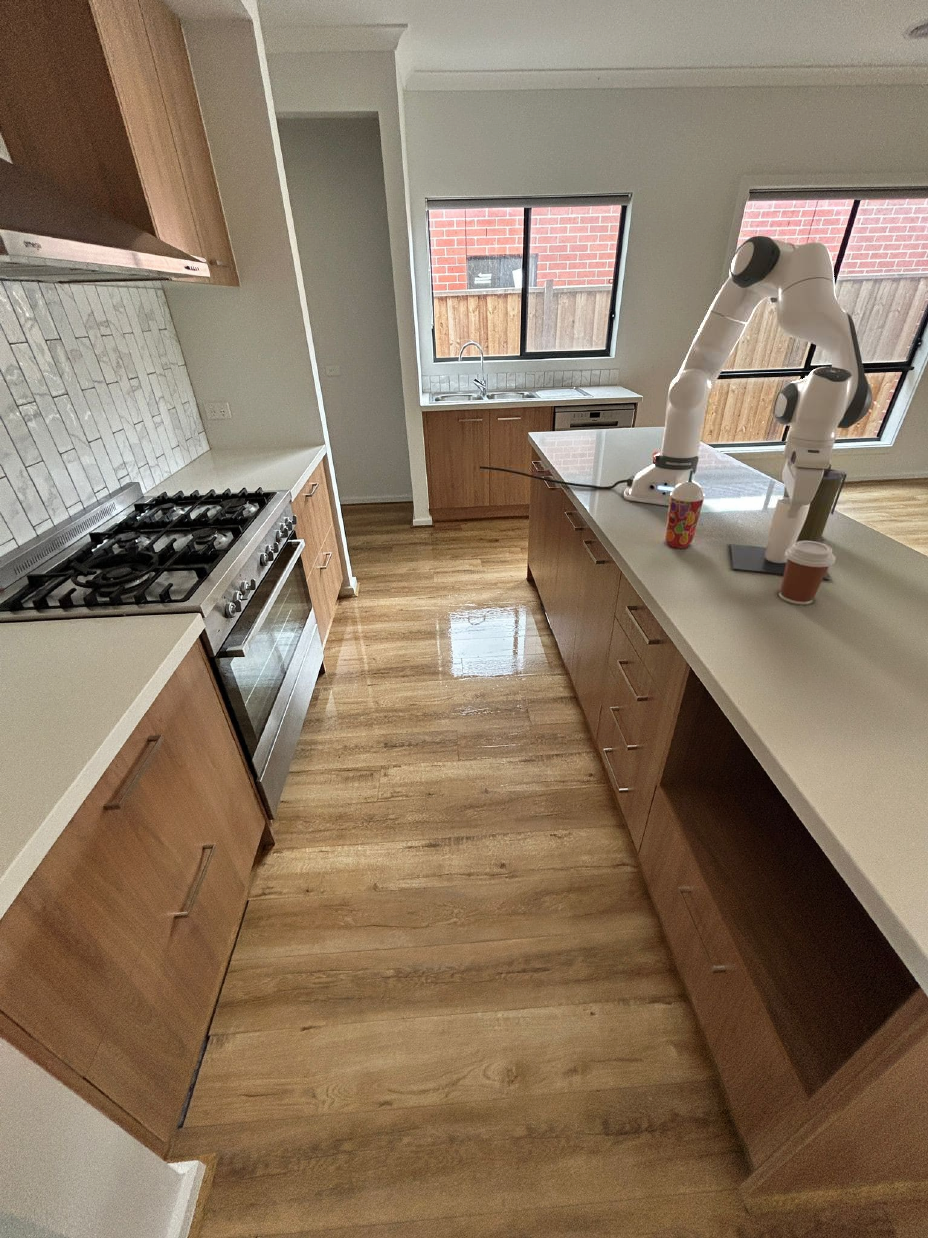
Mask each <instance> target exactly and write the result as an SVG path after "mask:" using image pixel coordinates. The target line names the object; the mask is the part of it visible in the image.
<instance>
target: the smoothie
mask: <svg viewBox="0 0 928 1238" xmlns="http://www.w3.org/2000/svg"><path fill="white" fill-rule="evenodd" d="M692 474H693V470H690V476H689V481H684V482H681V483H679V484H678V485H677V486H676V487H675V488H674V489H673V491H672V492H671V493H670V500H669V506H668V510H667V511H668V512H667V519H666V527H665V528H666V529H665V537H664V538H665V540H666V544H667V545H668V546H670V547H672V548H676V549H682V548H683V549H685V548H687V547H689V546H690V544H691V543H692V542H693V540H694V537H695V533H696V528H697V525H698V522H699V518H700V515H701V511H702V508H703V503H704V501H705V498H706V496H705V493H704V491H703V488H702V486H701V485H700V484H699V483H698V482H696V481H695V480H694V481H691V480H692Z"/></svg>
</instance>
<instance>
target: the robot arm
mask: <svg viewBox="0 0 928 1238" xmlns="http://www.w3.org/2000/svg"><path fill="white" fill-rule="evenodd" d="M831 256H832V255H831V253H830V250H829V249H828V247H827V246H826V245H825V244H823V243H820V242H808V243H804V244H802V245H800V246H798V245H796V244H794V243H793V242H785V241H782V240H777V239H773V238H771V237H769V236H766V235H765V236H764V235H755V236H751V237H749V238H748V239H746V240H745V241H744V242H743V243H742V244H741V245H740V246H739V247H738V249H736V250H735V253H734V255H733V257H732V259H731V261H730V266H729V276H728V278H727V279H726V280H725V282H724V283H723V285H722V287H721V288H720V290H719V291H718V293H717V294H716V296H715V298H714V300H713V301H712V303H711V305H710V306H709V309H708V310H707V312H706V313H707V314H706V315H705V317H704V319H703V321H702V323H701V325H700V327H699V329H698V331H697V333H696V335H695V337H694V339H693V341H692V344H691V345H690V348H689V350H688V353H687V354H686V357H685V359H684V361H683V363H682V365H681V367H680V369H679V371H678V373H677V375H676V376H675V378H673V379H672V381H671V383H670V385H669V387H668V392H667V399H666V400H667V401H666V409H665V421H664V430H663V436H662V437H663V438H662V444H661V451H658V450H654V451H653V453H652V464H650V465H648V466H647V467H646V468H644V469H642V470H640V471H639V472H637V474H636V475H631V476H629V477H628V478H627V479H621V480H618V481H616V482H615V483H613V484H612V485H609V486H599V485H593V484H584V483H583V484H582V483H575V482H569V481H563V480H558V479H552V478H547V477H542V476H538V475H535V474H531V473H526V472H522V471H517V470H513V469H512V470H511V469H508V468H501V467H494V466H482V465H479V467H478V468H479V469H482V470H490V471H491V470H492V471H499V472H506V473H511V474H515V475H516V474H517V475H519V476H525V477H529V478H532V479H535V480H536V479H537V480H540V481H545V482H550V483H555V484H561V485H566V486H572V487H580V488H589V489H590V488H591V489H596V490H611V489H614V488H616V487H617V486H618V485H620V484H625V483H626V487H625V489H624V491H623V498H624V499H625V500H626V501H632V502H638V503H646V504H652V505H659V506H660V505H661V506H668V507H669V500H670V493H671V492H672V491H673V489H674V488H675V487H676V486H677V485H678V484H679V483H681V482H684V481H689V476H690V470H693V474H692V480H691V481H694V482H695V475H696V473H697V470H698V467H699V461H700V454H699V451H700V446H701V439H702V435H703V431H704V423H705V417H706V412H707V405H708V400H709V395H710V393H711V391H712V389H713V387H714V385H715V383H716V382H717V380H718V378H719V376H720V374H721V373H722V371H723V369H724V368H725V366H726V364H727V362H728V360H729V358H730V357H731V355H732V354H733V352H734V349H735V348H736V346H737V344H738V343H739V340H740V339H741V337H742V335H743V333H744V331H745V330H746V327H747V325H748V324H749V322H750V320H751V318H752V317H753V314H754V312H755V310H756V309H757V307H758V306H759V305H760V303H761V302H762V301H764V300H766V299H769V300H770V302H771V303H776V319H777V320H776V321H777V323H778V327H779V328H780V330H781V331H782V332H783V333H785V334H786V335H788V336H789V337H790V338H792V339H795V340H800V341H803V342H807V343H810V344H813V345H815V346H817V347H819V348H821V349H823V350H824V351H825V352H826V353H827V354H828V356H829V359H830V363H831V366H821V367H817V368H815V369H813V370H812V371H810V373H809V374H808V376H806V377H805V378H803V379H802V378H801V379H800V380H795V381H791V382H789V383H787V384H786V385H785V386H783V387H782V388H781V389H780V390H779V391H778V392H777V395H776V397H775V401H774V405H773V409H772V415H773V417H774V418H775V420H776V421H777V422H778V423H779V424H780V425H783V426H788V427H791V430H790V431H789V433H788V435H787V440H786V443H785V445H784V450H783V453H782V457H783V458H784V459H786V460H785V464H784V467H783V470H782V474H781V479H782V482H783V484H784V486H783V487H784V489H783V495H782V498H784V497H790V499H791V505H790V507H789V508H788V511H787V517H788V518H796V516H797V513H798V511H799V509H800V508H801V506H802V504H809V503H810V502H811V501H812V499H813V498H814V496H815V493H816V491H817V489H818V486H819V484H820V482H821V479H822V476H823V473H824V469H828V468H829V466H830V464H831V463H832V452H833V449H834V445H835V442H836V439H837V437H838V436H837V432H838V429H848V428H850V427H852V426H854V425H856V424H857V423H858V422H859V421H861V420H862V419H863V418H864V417H866V415H867V414H868V413H869V411H870V410H871V407H872V403H873V392H872V388H871V386H870V384H869V381H868V379H867V377H866V374H865V370H864V369H865V368H864V364H863V359H862V355H861V349H860V344H859V339H858V335H857V331H856V325H855V322H854V320H853V317H852V316H851V314H849V313H848V312H847V311H846V310H844V308H843V307H842V306H841V304H840V302H839V300H838V299H837V296H836V292H835V277H834V276H835V275H834V274H835V273H834V267H833V266H834V265H833V261H832V260H833V259H832V257H831Z"/></svg>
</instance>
